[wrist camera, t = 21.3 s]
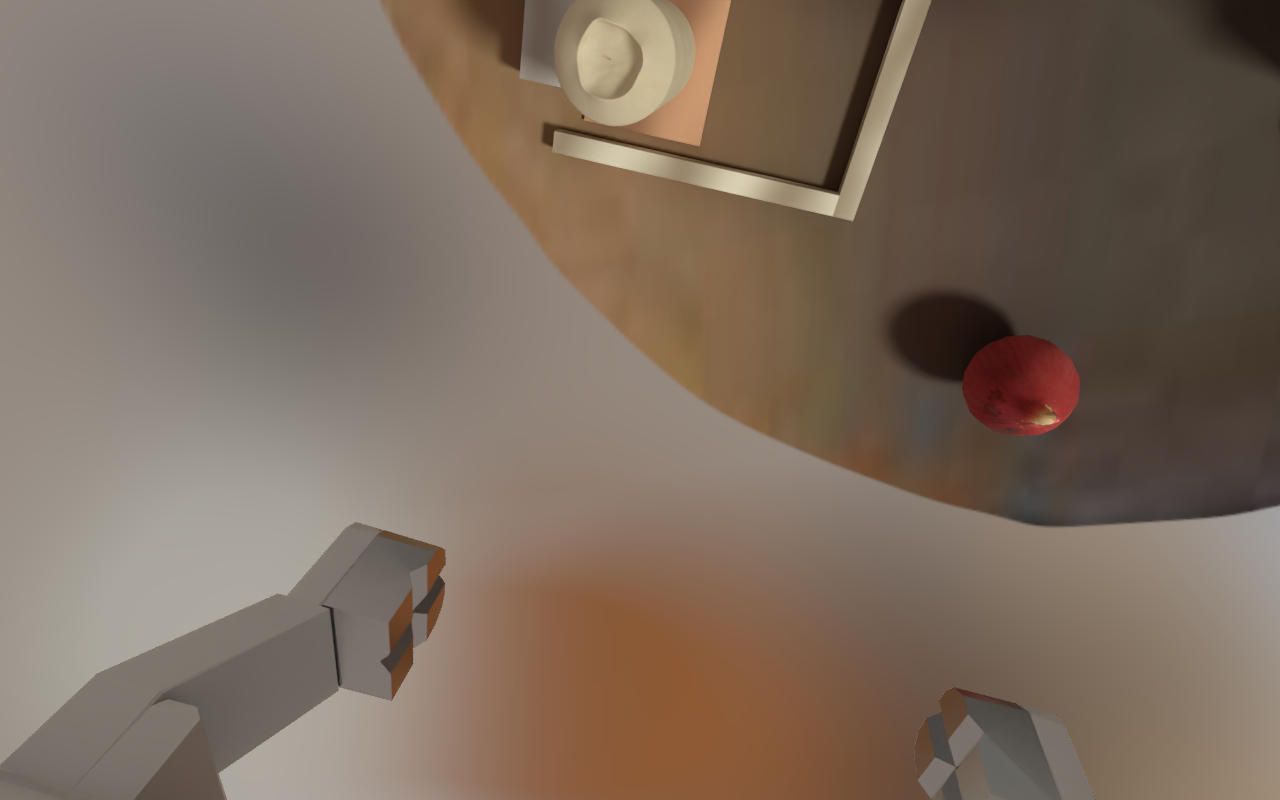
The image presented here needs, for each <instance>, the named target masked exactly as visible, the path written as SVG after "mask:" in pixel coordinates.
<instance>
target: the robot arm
mask: <svg viewBox="0 0 1280 800" xmlns="http://www.w3.org/2000/svg"><path fill="white" fill-rule="evenodd" d="M445 560H446V558H445V549H443V548H441V547H438V546H435V545H431V544H428V543H425V542H422V541H418V540H415V539H411V538H408V537H405V536H402V535H398V534H395V533H392V532H388V531H384V530H381V529H377V528H374V527H371V526H367V525H363V524H360V523H357V522H355V523H354V524H352V525H350V526H349V527H347V528H345V530H344V531H343V532H342V533H341V534H340V535H339V536H338V537H337V539H336V540H335V541H334V542H333V543H332V544H331V546H330V547H329V548H328V549H327V550H326V551H325V552H324V554H323V555H322V556H321V557H320V558H319V559H318V561H317V562H316V563H315V564H314V565H313V566H312V568H311V569H310V570H309V571H308V572H307V573H306V574H305V575H304V577H303V578H302V579H301V580H300V581H299V582H298V583H297V585H296V586H295V587H294V588H293V589H292V590H291V592H290V593H289V594H288V595H287V596H285V595H281V594H276V595H274V596H271V597H269V598H267V599H265V600H262V601H260V602H258V603H256V604H253V605H251V606H249V607H246V608H244V609H242V610H240V611H238V612H235V613H233V614H231V615H229V616H226V617H224V618H222V619H220V620H217V621H215V622H213V623H210V624H208V625H206V626H204V627H202V628H199V629H197V630H195V631H192V632H190V633H188V634H186V635H183V636H181V637H179V638H176V639H174V640H172V641H170V642H167V643H165V644H163V645H161V646H158V647H156V648H154V649H152V650H149V651H147V652H145V653H143V654H140V655H138V656H136V657H134V658H131V659H129V660H127V661H125V662H122V663H120V664H118V665H116V666H113V667H111V668H109V669H107V670H104V671H102V672H100V673H97V674H96V675H95V676H94V677H93V678H92V679H91V680H90V681H89V682H88V683H87V684H86V685H85V686H84V687H83V688H81V689H80V690H79V691H78V692H77V693H76V694H75V695H74V696H73V697H72V698H71V699H70V700H69V701H68V702H67V703H66V704H64V705H63V706H62V707H61V708H60V709H59V710H58V711H57V712H56V713H55V714H54V715H53V716H52V717H51V718H50V719H49V720H47V721H46V722H45V723H44V724H43V725H42V726H41V727H40V728H39V729H38V730H37V731H36V732H35V733H34V734H33V735H32V736H31V737H29V738H28V739H27V741H25V742H24V743H23V744H22V745H21V746H20V747H19V748H18V749H17V750H16V751H15V752H13V753H12V754H11V756H9V757H8V758H7V759H6V760H5V761H4V762H3V763H2V764H1V765H0V800H227V799H226V795H225V792H224V789H223V786H222V783H221V780H220V777H219V772H221V771H222V770H224V769H225V768H226V767H228V766H229V765H231V764H232V763H234V762H235V761H237V760H238V759H240V758H241V757H243V756H244V755H245V754H247V753H248V752H250V751H251V750H253V749H254V748H256V747H257V746H259V745H260V744H262V743H263V742H264V741H266V740H267V739H269V738H270V737H272V736H273V735H275V734H276V733H278V732H279V731H280V730H282V729H283V728H285V727H286V726H288V725H289V724H291V723H292V722H294V721H295V720H297V719H298V718H299V717H301V716H302V715H304V714H305V713H307V712H308V711H310V710H311V709H313V708H314V707H315V706H317V705H318V704H320V703H321V702H322V701H324V700H326V699H327V698H328V697H330V696H331V695H333V694H334V693H336V692H337V691H338V690H339V689H338V687H341V688H344V689H348V690H352V691H356V692H360V693H364V694H368V695H371V696H375V697H379V698H383V699H387V700H391V701H392V700H393V698H394V696H395V694H396V692H397V691H398V689H399V688H400V686H401V684H402V682H403V681H404V679H405V677H406V675H407V674H408V672H409V670H410V669H411V667H412V665H413V648H414V647H416V646H418V645H419V644H421V643H423V642H425V641H426V640H427V639H428V637H429V635H430V633H431V632H432V630H433V628H434V626H435V624H436V621H437V619H438V616H439V614H440V611H441V608H442V604H443V600H444V595H445V583H444V581H443V580H442V578H441V577H440V576H439V574H440V573H441V571H442V569H443V568H444V566H445V564H446V561H445ZM939 704H940V708H941V713H938V714H935V715H932V716H930V717H927V718H926V720H925V721H924V723H923V724H922V726H921V728H920V729H919V731H918V735H917V740H916V744H915V767H916V773H917V778H918V781H919V783H920V784H921V785H922V787H923V788H924V789H925V791H926V792H927V794H928V795H929V797H930V798H931V799H930V800H1096V799H1095V797H1094V795H1093V792H1092V790H1091V788H1090V785H1089V783H1088V780H1087V778H1086V775H1085V773H1084V771H1083V768H1082V766H1081V764H1080V761H1079V759H1078V757H1077V754H1076V752H1075V750H1074V747H1073V745H1072V742H1071V740H1070V737H1069V735H1068V733H1067V731H1066V728H1065V725H1064V724H1063V722H1062V721H1061V720H1060V719H1059V718H1058V716H1057V715H1054V714H1051V713H1047V712H1044V711H1040V710H1036V709H1033V708H1029V707H1025V706H1020V705H1017V704H1016V703H1012V702H1008V701H1004V700H1001V699H997V698H993V697H989V696H985V695H981V694H978V693H974V692H970V691H966V690H962V689H958V688H955V687H953V688H951V689H949V690H947V691H945V693H944V694H943V695H942V697H941V698H940V700H939Z"/></svg>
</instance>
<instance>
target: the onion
mask: <svg viewBox="0 0 1280 800" xmlns="http://www.w3.org/2000/svg"><path fill="white" fill-rule="evenodd" d="M1079 383H1080V378H1079V376H1078V373H1077V371H1076V369H1075V367H1074V365H1073V363H1072V360H1071V358H1070V357H1069V356H1068V355H1067V354H1066V353H1064V352H1063V351H1062V350H1061V349H1059V348H1058V347H1057V346H1055V345H1054V344H1053V343H1051V342H1050V341H1048V340H1044V339H1040V338H1037V337H1033V336H1030V335H1026V336H1007V337H1005V338H1002V339H1000V340H997V341H994V342H992V343H989V344H987V345H986V346H985V347H984V348H982V349H981V350H980V351H978V352H977V353H976V354H975V355H974V357H973V358H972V360H971V362H970V363H969V365H968V367H967V368H966V370H965V372H964V378H963V386H962V390H963V395H964V398H965V400H966V403H967V405H968V408H969V410H970V412H971V413H972V414H973V416H974V417H975V418H976V419H978V420H979V421H980V422H982V423H983V424H984V425H986V426H987V427H988V428H990V429H991V430H993V431H995V432H997V433H1001V434H1009V435H1015V436H1024V435H1037V434H1043V433H1045V432H1047V431H1050V430H1052V429H1054V428H1056V427H1057V426H1058V425H1060V424H1061V423H1062V422H1063V421H1064V420H1065V419H1067V418H1068V416H1069V415H1070V413H1071V412H1072V410H1073V409H1074V407H1075V406H1076V404H1077V402H1078V400H1079Z"/></svg>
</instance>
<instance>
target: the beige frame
mask: <svg viewBox="0 0 1280 800" xmlns="http://www.w3.org/2000/svg"><path fill="white" fill-rule="evenodd" d="M575 1H576V0H525V10H524V23H523V37H522V51H521V65H520V78H521V79H525V80H530V81H534V82H539V83H543V84H548V85H552V86H557V87H561V85H560V83H559V80H558V77H557V73H556V69H555V61H554V46H555V39H556V34H557V30H558V28H559V25H560V22H561V20H562V18H563V17H564V15H565V13H566V12H567V10H568V9H569V7H570V6H571V5H572V4H573V3H574V2H575ZM668 1H670V2H672V3H673V4H674V5H676V6H677V7H678V8H679V9H680V10H681V11H682V13H683V14H684V15H685V17H686V18H687V20H688V22H689V24H690V26H691V29H692V31H693V35H694V39H695V47H696V55H695V63H694V67H693V71H692V74H691V76H690V78H689V80H688V82H687V84H686V85H685V87H684V88H683V90H682V91H681V92H680V93H679V94H678V95H677V96H676V97H675V98H674V99H672V100H671V101H669V102H668V103H667V104H665V105H664V106H662V107H661V108H659V109H658V110H656V111H655V112H653V113H652V114H650V115H649V116H647V117H646V118H644V119H642V120H640V121H638V122H636V123H633V124H630V125H624V126H612V127H616V128H621V129H625V130H629V131H634V132H638V133H643V134H647V135H652V136H656V137H660V138H665V139H669V140H674V141H678V142H683V143H687V144H691V145H696V146H700V142H701V137H702V133H703V128H704V124H705V119H706V114H707V110H708V105H709V100H710V96H711V91H712V87H713V82H714V77H715V73H716V68H717V63H718V59H719V54H720V50H721V45H722V40H723V36H724V31H725V27H726V22H727V17H728V13H729V8H730V3H731V0H668ZM930 3H931V0H902V3H901V6H900V9H899V12H898V15H897V18H896V21H895V24H894V27H893V30H892V33H891V36H890V39H889V42H888V45H887V48H886V51H885V54H884V57H883V60H882V63H881V66H880V68H879V71H878V74H877V77H876V80H875V83H874V86H873V89H872V92H871V95H870V98H869V101H868V104H867V107H866V110H865V113H864V116H863V119H862V122H861V125H860V128H859V131H858V134H857V137H856V140H855V143H854V146H853V149H852V152H851V155H850V158H849V161H848V164H847V167H846V170H845V173H844V176H843V179H842V182H841V185H840V188H839V191H838V192H836V191H832V190H828V189H823V188H819V187H814V186H810V185H806V184H801V183H797V182H792V181H788V180H783V179H779V178H775V177H770V176H766V175H761V174H757V173H753V172H748V171H744V170H739V169H735V168H731V167H726V166H722V165H717V164H713V163H709V162H704V161H700V160H695V159H691V158H687V157H682V156H678V155H673V154H669V153H665V152H660V151H656V150H651V149H647V148H643V147H638V146H634V145H629V144H625V143H620V142H616V141H612V140H607V139H603V138H598V137H594V136H590V135H585V134H581V133H576V132H572V131H568V130H563V129H557V130H555V131H554V140H553V149H552V152H555V153H559V154H563V155H568V156H572V157H576V158H581V159H585V160H589V161H594V162H598V163H602V164H607V165H611V166H616V167H620V168H624V169H629V170H633V171H637V172H642V173H646V174H650V175H655V176H659V177H663V178H668V179H672V180H677V181H681V182H685V183H690V184H694V185H698V186H703V187H707V188H711V189H716V190H720V191H724V192H729V193H733V194H737V195H742V196H746V197H751V198H755V199H759V200H764V201H768V202H772V203H777V204H781V205H785V206H790V207H794V208H798V209H803V210H807V211H812V212H816V213H820V214H825V215H829V216H833V217H838V218H842V219H846V220H851V221H853V219H854V216H855V214H856V211H857V208H858V205H859V202H860V200H861V197H862V194H863V191H864V188H865V186H866V183H867V180H868V177H869V174H870V172H871V169H872V166H873V163H874V160H875V158H876V155H877V152H878V149H879V146H880V144H881V141H882V138H883V135H884V132H885V129H886V127H887V124H888V121H889V118H890V115H891V113H892V110H893V107H894V104H895V101H896V99H897V96H898V93H899V90H900V87H901V85H902V82H903V79H904V76H905V73H906V71H907V68H908V65H909V62H910V59H911V56H912V54H913V51H914V48H915V45H916V42H917V40H918V37H919V34H920V31H921V28H922V26H923V23H924V20H925V17H926V14H927V12H928V9H929V6H930ZM584 120H585V121H589V122H594V123H597V122H595V121H592V120H591V119H589V118H587V117H586V116H585V118H584ZM598 124H600V123H598ZM603 125H604V124H603ZM607 126H608V125H607Z"/></svg>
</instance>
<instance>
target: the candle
mask: <svg viewBox="0 0 1280 800" xmlns="http://www.w3.org/2000/svg"><path fill="white" fill-rule="evenodd" d="M695 55H696V47H695V39H694V35H693V31H692V29H691V26H690V24H689V22H688V20H687V18H686V17H685V15H684V14H683V13H682V11H681V10H680V9H679V8H678V7H677V6H676V5H674V4H673V3H672V2H670V1H668V0H576V1H575V2H574V3H573V4H572V5H571V6H570V7H569V9H568V10H567V12H566V13H565V15H564V17H563V18H562V20H561V22H560V25H559V28H558V30H557V34H556V39H555V46H554V61H555V69H556V73H557V77H558V80H559V83H560V85H561V88H562V90H563V92H564V93H565V95H566V97H567V98H568V100H569V101H570V102H571V104H572V105H573V106H574V107H575V108H576V109H577V110H578V111H579V112H580V113H582V114H583V115H584V116H586V117H587V118H589V119H591V120H592V121H595V122H597V123H600V124H604V125H608V126H624V125H630V124H633V123H636V122H638V121H640V120H642V119H644V118H646V117H647V116H649V115H650V114H652V113H653V112H655V111H656V110H658V109H659V108H661V107H662V106H664V105H665V104H667V103H668V102H669V101H671V100H672V99H674V98H675V97H676V96H677V95H678V94H679V93H680V92H681V91H682V90H683V88H684V87H685V85H686V84H687V82H688V80H689V78H690V76H691V74H692V71H693V67H694V63H695Z"/></svg>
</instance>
